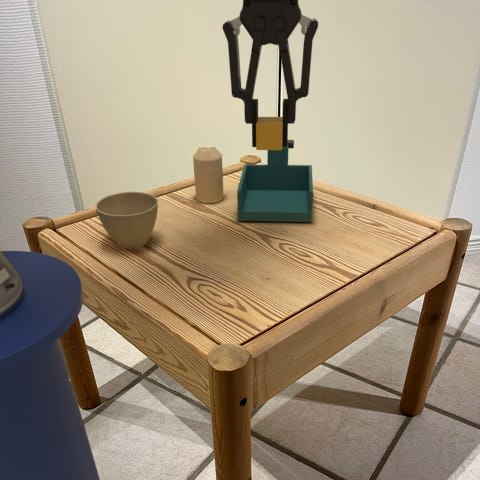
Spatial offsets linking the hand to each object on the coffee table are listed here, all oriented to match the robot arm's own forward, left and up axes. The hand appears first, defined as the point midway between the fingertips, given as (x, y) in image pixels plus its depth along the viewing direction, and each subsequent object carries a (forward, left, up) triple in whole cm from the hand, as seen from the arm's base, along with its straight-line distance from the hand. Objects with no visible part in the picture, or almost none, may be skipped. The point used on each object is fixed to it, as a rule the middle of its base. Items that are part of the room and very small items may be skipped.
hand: (270, 144), depth 81 cm
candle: (-19, +4, -15) cm, 24 cm away
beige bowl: (-15, -18, -15) cm, 28 cm away
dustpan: (-7, +10, -15) cm, 19 cm away
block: (0, 0, 0) cm, 0 cm away
